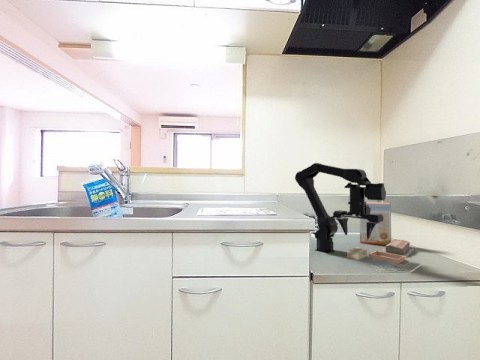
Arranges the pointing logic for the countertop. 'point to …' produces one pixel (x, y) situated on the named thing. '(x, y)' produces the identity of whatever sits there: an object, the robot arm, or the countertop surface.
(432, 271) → the countertop surface
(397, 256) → the frame
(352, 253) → the cream rectangular prism
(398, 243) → the packaged product
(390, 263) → the mat
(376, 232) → the cracker box
